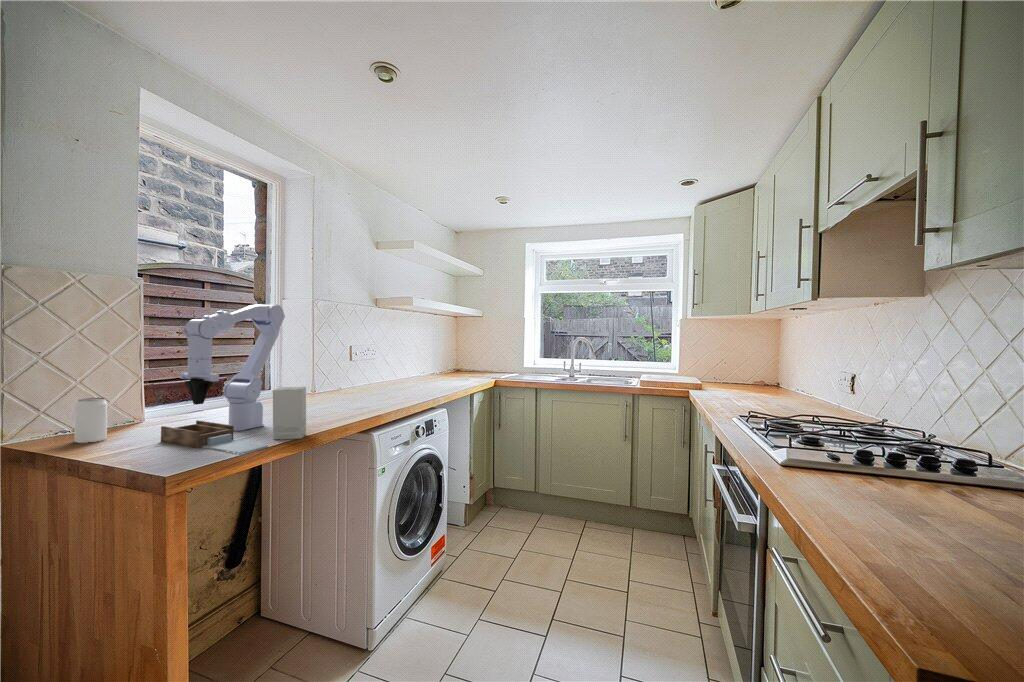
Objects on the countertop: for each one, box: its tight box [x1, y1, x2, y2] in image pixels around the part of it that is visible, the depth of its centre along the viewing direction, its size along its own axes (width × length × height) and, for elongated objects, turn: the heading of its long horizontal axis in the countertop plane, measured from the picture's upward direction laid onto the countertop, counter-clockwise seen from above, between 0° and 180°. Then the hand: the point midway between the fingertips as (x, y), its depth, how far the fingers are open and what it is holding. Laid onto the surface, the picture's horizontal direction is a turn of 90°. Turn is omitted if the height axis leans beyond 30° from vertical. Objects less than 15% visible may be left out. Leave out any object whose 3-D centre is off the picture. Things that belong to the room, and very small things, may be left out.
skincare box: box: [272, 386, 307, 440], centre depth 128 cm, size 8×7×16 cm
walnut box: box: [160, 419, 235, 449], centre depth 121 cm, size 16×10×4 cm, turn 70°
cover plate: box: [201, 434, 269, 455], centre depth 116 cm, size 15×8×3 cm, turn 69°
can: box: [73, 397, 108, 444], centre depth 117 cm, size 6×6×12 cm
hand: (198, 403), depth 124 cm, fingers closed
